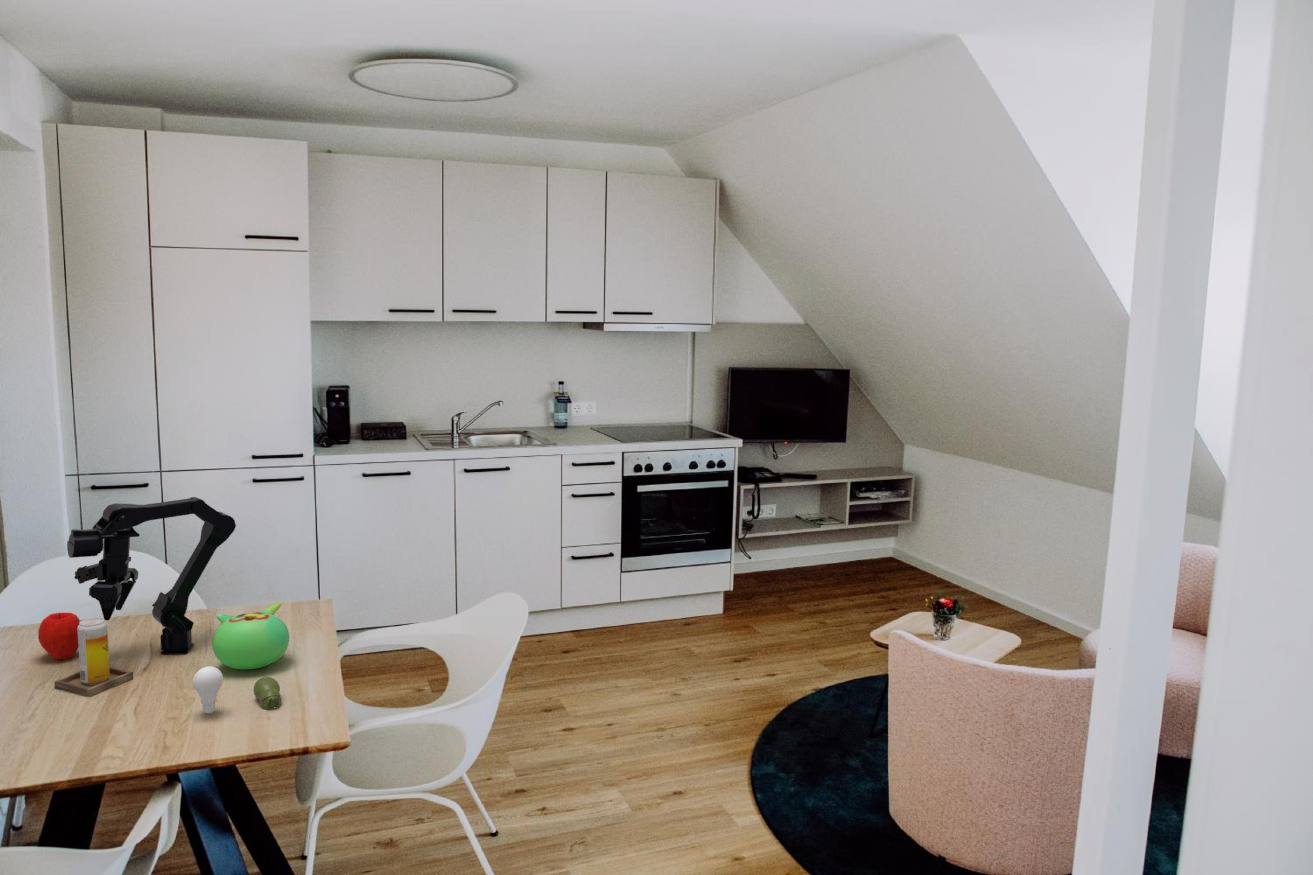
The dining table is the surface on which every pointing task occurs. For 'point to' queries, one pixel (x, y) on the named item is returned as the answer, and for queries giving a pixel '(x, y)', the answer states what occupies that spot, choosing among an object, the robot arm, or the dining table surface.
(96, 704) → the dining table surface
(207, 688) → the lightbulb
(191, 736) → the dining table surface
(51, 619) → the apple
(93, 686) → the tray
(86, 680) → the beer can
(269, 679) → the olive green rounded piece
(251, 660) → the toy bird
